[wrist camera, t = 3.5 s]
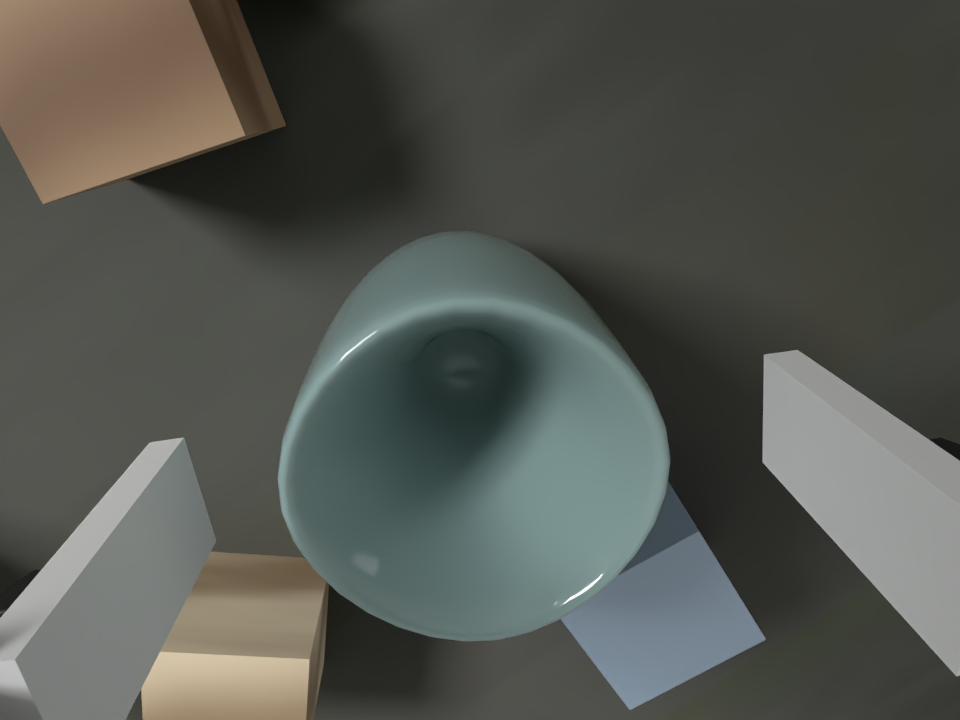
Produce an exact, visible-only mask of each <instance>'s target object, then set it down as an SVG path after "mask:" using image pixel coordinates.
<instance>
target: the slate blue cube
mask: <svg viewBox="0 0 960 720" xmlns="http://www.w3.org/2000/svg"><path fill="white" fill-rule="evenodd" d="M561 620H562V622H563V623H564V624H565V626H566V627H567V628H568V629H569V631H570V632H571V633H572V635H573V636H574V637H575V639H576V640H577V641H578V643H579V644H580V645H581V647H582V648H583V649H584V651H585V652H586V653H587V654H588V656H589V657H590V658H591V660H592V661H593V662H594V664H595V665H596V666H597V668H598V669H599V670H600V672H601V673H602V674H603V676H604V677H605V678H606V679H607V681H608V682H609V683H610V685H611V686H612V687H613V689H614V690H615V691H616V693H617V694H618V695H619V697H620V698H621V699H622V701H623V702H624V703H625V704H626V706H627V707H628V708H629V710H631V709H633V708H635V707H637V706H639V705H641V704H643V703H645V702H646V701H648V700H650V699H652V698H654V697H656V696H658V695H660V694H662V693H664V692H666V691H668V690H670V689H672V688H673V687H675V686H677V685H679V684H681V683H683V682H685V681H687V680H689V679H691V678H693V677H695V676H697V675H699V674H700V673H702V672H704V671H706V670H708V669H710V668H712V667H714V666H716V665H718V664H720V663H722V662H724V661H725V660H727V659H729V658H731V657H733V656H735V655H737V654H739V653H741V652H743V651H745V650H747V649H749V648H751V647H752V646H754V645H756V644H758V643H760V642H762V641H764V640H766V639H765V637H764V635H763V634H762V632H761V630H760V629H759V627H758V626H757V624H756V622H755V621H754V619H753V618H752V616H751V614H750V613H749V611H748V609H747V608H746V606H745V605H744V603H743V601H742V600H741V598H740V596H739V595H738V593H737V592H736V590H735V588H734V587H733V585H732V584H731V582H730V580H729V579H728V577H727V575H726V574H725V572H724V571H723V569H722V567H721V566H720V564H719V563H718V561H717V559H716V558H715V556H714V554H713V553H712V551H711V550H710V548H709V546H708V545H707V543H706V541H705V540H704V538H703V537H702V535H701V533H700V532H699V530H698V529H697V527H696V525H695V524H694V522H693V520H692V519H691V517H690V516H689V514H688V512H687V511H686V509H685V508H684V506H683V504H682V503H681V501H680V499H679V498H678V496H677V495H676V493H675V491H674V490H673V488H672V487H671V485H670V483H669V482H668V487H667V492H666V495H665V498H664V501H663V503H662V506H661V509H660V512H659V514H658V517H657V520H656V522H655V524H654V526H653V527H652V529H651V531H650V532H649V534H648V536H647V537H646V539H645V540H644V542H643V544H642V545H641V547H640V549H639V550H638V552H637V553H636V555H635V556H634V557H633V558H632V559H631V560H630V562H629V563H628V564H627V565H626V566H625V568H624V569H623V570H622V571H621V572H620V573H619V575H618V576H617V577H616V578H615V579H614V580H613V581H612V582H611V583H609V584H608V585H607V586H606V587H605V588H604V589H602V590H601V591H600V592H599V593H598V594H597V595H596V596H594V597H593V598H592V599H591V600H590V601H588V602H587V603H585V604H584V605H582V606H580V607H579V608H577V609H576V610H574V611H573V612H571V613H569V614H568V615H566V616H565V617H563V618H561Z"/></svg>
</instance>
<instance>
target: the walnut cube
mask: <svg viewBox="0 0 960 720" xmlns="http://www.w3.org/2000/svg"><path fill="white" fill-rule="evenodd" d="M0 126H1V128H2V130H3V131H4V133H5V135H6V137H7V139H8V141H9V142H10V144H11V146H12V148H13V150H14V152H15V153H16V155H17V157H18V159H19V161H20V163H21V164H22V166H23V168H24V170H25V172H26V174H27V176H28V177H29V179H30V181H31V183H32V185H33V187H34V188H35V190H36V192H37V194H38V196H39V198H40V199H41V201H42V203H43V204H45V203H48V202H52V201H55V200H59V199H62V198H65V197H69V196H72V195H76V194H79V193H83V192H86V191H90V190H93V189H96V188H100V187H103V186H107V185H110V184H114V183H117V182H121V181H124V180H127V179H131V178H133V177H136V176H139V175H142V174H145V173H148V172H151V171H154V170H157V169H160V168H163V167H166V166H169V165H172V164H175V163H178V162H181V161H184V160H187V159H190V158H193V157H196V156H199V155H202V154H205V153H208V152H210V151H213V150H216V149H219V148H222V147H225V146H228V145H231V144H234V143H237V142H240V141H243V140H246V139H249V138H252V137H255V136H258V135H261V134H264V133H267V132H270V131H273V130H276V129H279V128H282V127H284V126H286V124H285V121H284V119H283V116H282V114H281V111H280V109H279V106H278V103H277V101H276V98H275V96H274V93H273V91H272V88H271V86H270V83H269V81H268V78H267V76H266V73H265V71H264V68H263V66H262V63H261V60H260V58H259V55H258V53H257V50H256V48H255V45H254V43H253V40H252V38H251V35H250V33H249V30H248V28H247V25H246V23H245V20H244V18H243V15H242V12H241V10H240V7H239V5H238V2H237V0H0Z"/></svg>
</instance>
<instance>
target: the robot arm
mask: <svg viewBox="0 0 960 720" xmlns="http://www.w3.org/2000/svg"><path fill="white" fill-rule="evenodd" d="M762 462H763V463H764V465H765V466H766V467H767V468H768V469H769V470H770V471H771V472H772V473H773V474H774V476H775V477H776V478H777V479H778V480H779V481H780V482H781V483H782V484H783V485H784V487H785V488H786V489H787V490H788V491H789V492H790V493H791V494H792V495H793V497H794V498H795V499H796V500H797V501H798V502H799V503H800V504H801V505H802V506H803V508H804V509H805V510H806V511H807V512H808V513H809V514H810V515H811V516H812V517H813V519H814V520H815V521H816V522H817V523H818V524H819V525H820V526H821V527H822V529H823V530H824V531H825V532H826V533H827V534H828V535H829V536H830V537H831V538H832V540H833V541H834V542H835V543H836V544H837V545H838V546H839V547H840V548H841V549H842V551H843V552H844V553H845V554H846V555H847V556H848V557H849V558H850V559H851V561H852V562H853V563H854V564H855V565H856V566H857V567H858V568H859V569H860V570H861V572H862V573H863V574H864V575H865V576H866V577H867V578H868V579H869V580H870V581H871V583H872V584H873V585H874V586H875V587H876V588H877V589H878V590H879V591H880V593H881V594H882V595H883V596H884V597H885V598H886V599H887V600H888V601H889V602H890V604H891V605H892V606H893V607H894V608H895V609H896V610H897V611H898V612H899V613H900V615H901V616H902V617H903V618H904V619H905V620H906V621H907V622H908V623H909V625H910V626H911V627H912V628H913V629H914V630H915V631H916V632H917V633H918V634H919V636H920V637H921V638H922V639H923V640H924V641H925V642H926V643H927V644H928V645H929V647H930V648H931V649H932V650H933V651H934V652H935V653H936V654H937V655H938V657H939V658H940V659H941V660H942V661H943V662H944V663H945V664H946V665H947V666H948V668H949V669H950V670H951V671H952V672H953V673H954V674H955V675H956V676H960V445H959V444H956V443H954V442H951V441H948V440H945V439H943V438H937V439H930V440H929V439H927V438H926V437H924V436H923V435H921V434H920V433H918V432H917V431H915V430H914V429H913V428H911V427H910V426H908V425H907V424H905V423H904V422H902V421H901V420H899V419H898V418H896V417H895V416H894V415H892V414H891V413H889V412H888V411H886V410H885V409H883V408H882V407H880V406H879V405H877V404H876V403H875V402H873V401H872V400H870V399H869V398H867V397H866V396H864V395H863V394H861V393H860V392H858V391H857V390H856V389H854V388H853V387H851V386H850V385H848V384H847V383H845V382H844V381H842V380H841V379H839V378H838V377H836V376H835V375H834V374H832V373H831V372H829V371H828V370H826V369H825V368H823V367H822V366H820V365H819V364H817V363H816V362H815V361H813V360H812V359H810V358H809V357H807V356H806V355H804V354H803V353H801V352H800V351H798V350H793V351H786V352H779V353H772V354H765V355H764V384H763V458H762ZM215 542H216V539H215V536H214V532H213V529H212V526H211V523H210V520H209V516H208V513H207V510H206V507H205V504H204V500H203V497H202V494H201V491H200V487H199V484H198V481H197V478H196V475H195V471H194V468H193V465H192V462H191V459H190V455H189V452H188V449H187V446H186V443H185V439H184V438H177V439H170V440H163V441H156V442H150V443H149V444H148V445H147V446H146V448H145V449H144V450H143V451H142V452H141V453H140V455H139V456H138V457H137V458H136V459H135V460H134V462H133V463H132V464H131V465H130V466H129V467H128V469H127V470H126V471H125V472H124V473H123V475H122V476H121V477H120V478H119V479H118V480H117V482H116V483H115V484H114V485H113V486H112V487H111V489H110V490H109V491H108V492H107V493H106V494H105V496H104V497H103V498H102V499H101V500H100V502H99V503H98V504H97V505H96V506H95V507H94V509H93V510H92V511H91V512H90V513H89V514H88V516H87V517H86V518H85V519H84V520H83V522H82V523H81V524H80V525H79V526H78V527H77V529H76V530H75V531H74V532H73V533H72V534H71V536H70V537H69V538H68V539H67V540H66V541H65V543H64V544H63V545H62V546H61V547H60V549H59V550H58V551H57V552H56V553H55V554H54V556H53V557H52V558H51V559H50V560H49V561H48V563H47V564H46V565H45V566H44V567H43V568H42V570H35V571H32V572H31V573H29V574H28V575H27V576H25V577H24V578H22V579H21V580H20V581H18V582H17V583H16V584H14V585H13V586H11V587H10V588H9V589H7V590H6V591H5V592H4V593H3V594H2V595H1V596H0V720H126V718H127V716H128V714H129V712H130V710H131V708H132V706H133V704H134V702H135V700H136V698H137V696H138V694H139V692H140V690H141V688H142V686H143V684H144V682H145V680H146V678H147V676H148V674H149V672H150V670H151V668H152V667H153V665H154V663H155V661H156V659H157V657H158V655H159V653H160V651H161V649H162V647H163V645H164V643H165V641H166V639H167V637H168V635H169V633H170V631H171V629H172V627H173V625H174V623H175V621H176V619H177V617H178V615H179V613H180V611H181V609H182V607H183V605H184V603H185V601H186V600H187V598H188V596H189V594H190V592H191V590H192V588H193V586H194V584H195V582H196V580H197V578H198V576H199V574H200V572H201V570H202V568H203V566H204V564H205V562H206V560H207V558H208V556H209V554H210V552H211V550H212V548H213V546H214V544H215Z"/></svg>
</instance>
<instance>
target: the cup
mask: <svg viewBox="0 0 960 720" xmlns="http://www.w3.org/2000/svg"><path fill="white" fill-rule="evenodd" d="M670 461H671V458H670V451H669V445H668V438H667V432H666V426H665V422H664V419H663V417H662V414H661V412H660V410H659V407H658V405H657V403H656V400H655V398H654V396H653V393H652V391H651V389H650V387H649V385H648V383H647V381H646V380H645V378H644V377H643V375H642V374H641V372H640V371H639V369H638V368H637V367H636V365H635V364H634V362H633V361H632V360H631V358H630V357H629V355H628V354H627V353H626V351H625V350H624V348H623V347H622V346H621V344H620V343H619V341H618V340H617V339H616V337H615V336H614V335H613V333H612V332H611V331H610V329H609V328H608V327H607V325H606V324H605V323H604V322H603V320H602V319H601V318H600V316H599V315H598V314H597V313H596V311H595V310H594V309H593V308H592V306H591V305H590V304H589V303H588V302H587V301H586V300H585V298H584V297H583V296H582V295H581V294H580V293H579V292H578V291H577V290H576V289H575V288H573V287H572V286H571V285H570V284H569V283H568V282H567V281H566V280H565V279H564V278H563V277H562V276H561V275H560V274H559V273H558V272H557V271H556V270H555V269H553V268H552V267H551V266H549V265H548V264H547V263H545V262H544V261H542V260H541V259H539V258H538V257H536V256H535V255H533V254H532V253H530V252H529V251H527V250H526V249H524V248H521V247H519V246H517V245H515V244H512V243H510V242H508V241H505V240H503V239H501V238H498V237H496V236H492V235H487V234H483V233H478V232H473V231H443V232H439V233H435V234H431V235H427V236H423V237H420V238H418V239H416V240H414V241H412V242H410V243H408V244H406V245H404V246H402V247H400V248H398V249H396V250H395V251H394V252H392V253H391V254H390V255H388V256H387V257H386V258H385V259H383V260H382V261H381V262H379V263H378V264H377V265H375V266H374V267H373V268H372V269H371V270H370V271H369V272H368V273H367V274H366V275H365V277H364V278H363V279H362V280H361V281H360V282H359V283H358V284H357V285H356V287H355V288H354V289H353V290H352V291H351V292H350V294H349V295H348V296H347V298H346V300H345V301H344V303H343V304H342V306H341V308H340V309H339V311H338V312H337V314H336V316H335V317H334V319H333V320H332V322H331V324H330V325H329V327H328V329H327V330H326V332H325V334H324V336H323V338H322V340H321V342H320V344H319V346H318V348H317V350H316V353H315V355H314V357H313V359H312V362H311V364H310V366H309V368H308V371H307V373H306V375H305V378H304V380H303V383H302V385H301V388H300V390H299V393H298V395H297V398H296V401H295V403H294V406H293V408H292V411H291V414H290V416H289V419H288V422H287V425H286V428H285V431H284V435H283V440H282V447H281V453H280V460H279V467H278V485H279V494H280V503H281V512H282V514H283V517H284V519H285V522H286V524H287V527H288V529H289V532H290V534H291V537H292V539H293V542H294V543H295V544H296V546H297V547H298V549H299V550H300V551H301V553H302V554H303V556H304V557H305V558H306V560H307V561H308V563H309V564H310V566H311V567H312V568H313V569H314V570H315V571H316V572H317V573H318V574H319V575H320V576H321V577H322V578H323V579H324V580H325V581H326V582H327V583H328V584H330V585H331V586H332V587H333V588H334V589H335V590H336V591H337V592H338V593H339V594H340V595H342V596H343V597H345V598H346V599H348V600H349V601H351V602H352V603H354V604H355V605H357V606H358V607H360V608H361V609H363V610H364V611H366V612H367V613H369V614H371V615H373V616H376V617H378V618H380V619H382V620H384V621H386V622H388V623H390V624H393V625H395V626H397V627H399V628H402V629H406V630H409V631H413V632H416V633H419V634H423V635H426V636H429V637H435V638H442V639H450V640H457V641H486V640H500V639H504V638H508V637H512V636H516V635H521V634H525V633H529V632H532V631H534V630H536V629H539V628H541V627H543V626H546V625H548V624H550V623H553V622H555V621H557V620H560V619H561V618H563V617H565V616H566V615H568V614H569V613H571V612H573V611H574V610H576V609H577V608H579V607H580V606H582V605H584V604H585V603H587V602H588V601H590V600H591V599H592V598H593V597H594V596H596V595H597V594H598V593H599V592H600V591H601V590H602V589H604V588H605V587H606V586H607V585H608V584H609V583H611V582H612V581H613V580H614V579H615V578H616V577H617V576H618V575H619V573H620V572H621V571H622V570H623V569H624V568H625V566H626V565H627V564H628V563H629V562H630V560H631V559H632V558H633V557H634V556H635V555H636V553H637V552H638V550H639V549H640V547H641V545H642V544H643V542H644V540H645V539H646V537H647V536H648V534H649V532H650V531H651V529H652V527H653V526H654V524H655V522H656V520H657V517H658V514H659V512H660V509H661V506H662V503H663V501H664V498H665V495H666V492H667V487H668V478H669V470H670Z"/></svg>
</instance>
